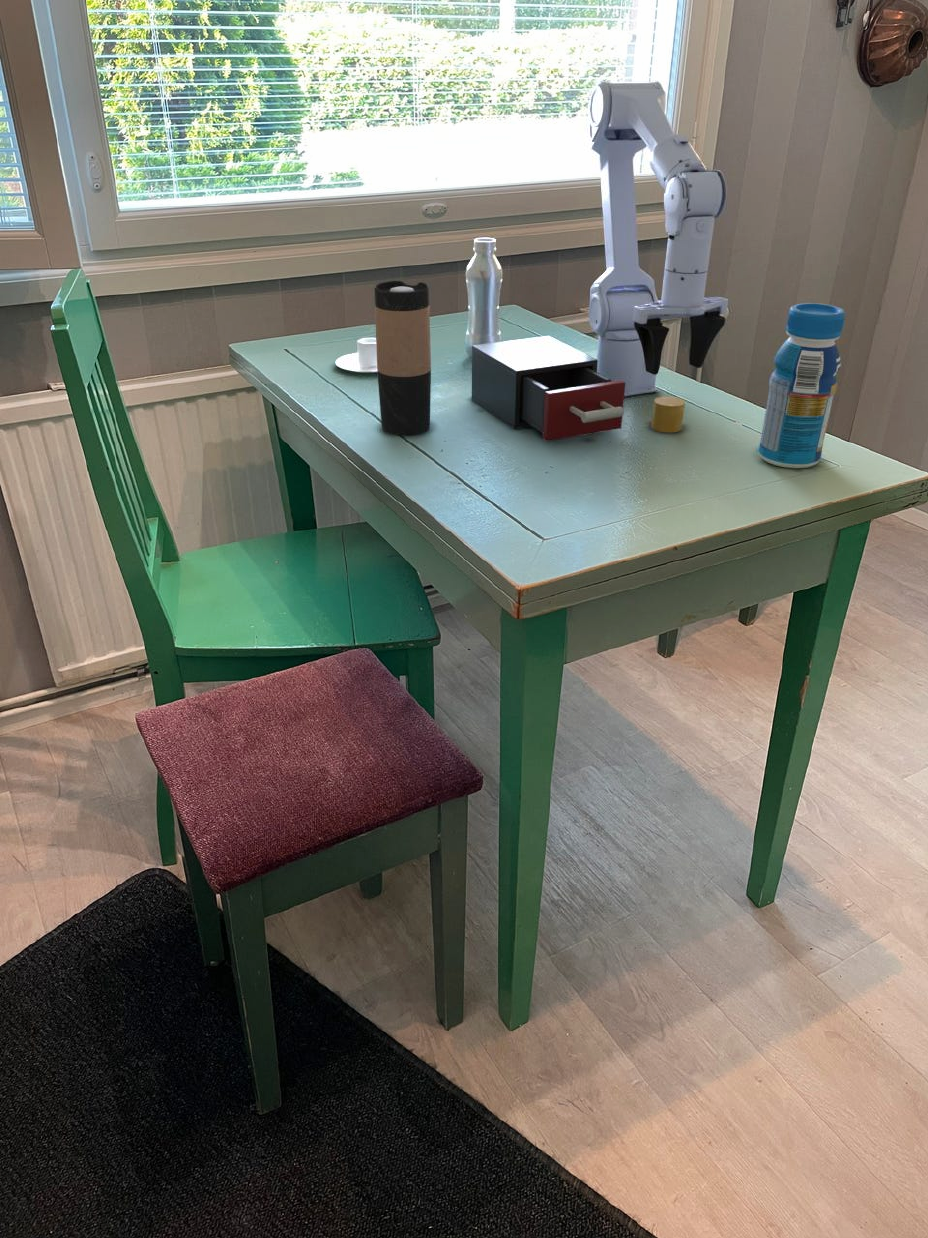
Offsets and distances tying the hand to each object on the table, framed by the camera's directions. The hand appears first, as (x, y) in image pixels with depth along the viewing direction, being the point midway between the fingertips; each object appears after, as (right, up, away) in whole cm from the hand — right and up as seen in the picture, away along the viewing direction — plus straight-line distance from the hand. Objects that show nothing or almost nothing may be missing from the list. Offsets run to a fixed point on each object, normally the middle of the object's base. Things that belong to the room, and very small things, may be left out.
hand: (673, 369), depth 134 cm
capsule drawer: (-15, -7, +3) cm, 17 cm away
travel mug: (-38, -8, +4) cm, 40 cm away
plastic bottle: (-27, +11, +34) cm, 45 cm away
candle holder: (-46, +8, +30) cm, 56 cm away
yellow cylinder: (0, -7, +5) cm, 9 cm away
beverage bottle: (+14, -14, -5) cm, 21 cm away
